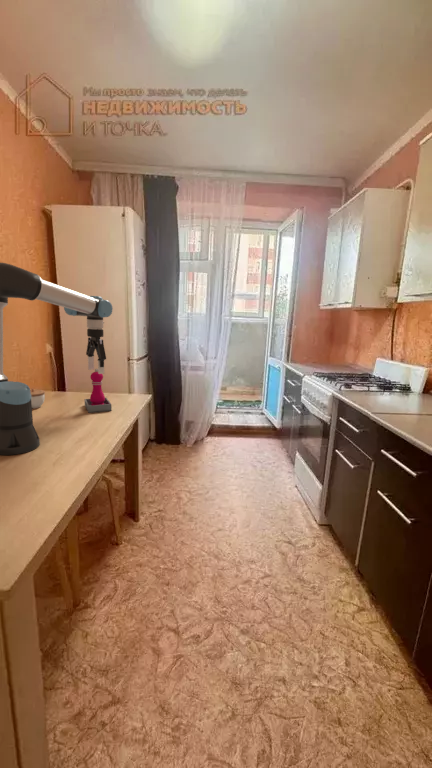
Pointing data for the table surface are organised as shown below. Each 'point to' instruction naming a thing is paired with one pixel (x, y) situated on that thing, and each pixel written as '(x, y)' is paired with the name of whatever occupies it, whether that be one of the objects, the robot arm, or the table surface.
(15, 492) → the table surface
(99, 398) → the pepper mill
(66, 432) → the table surface
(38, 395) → the lidded jar
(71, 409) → the table surface
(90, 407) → the bin
